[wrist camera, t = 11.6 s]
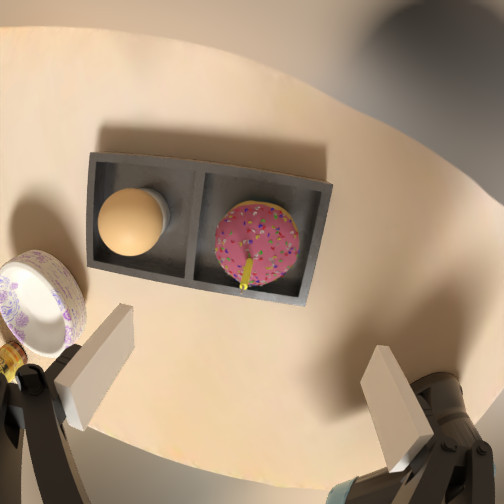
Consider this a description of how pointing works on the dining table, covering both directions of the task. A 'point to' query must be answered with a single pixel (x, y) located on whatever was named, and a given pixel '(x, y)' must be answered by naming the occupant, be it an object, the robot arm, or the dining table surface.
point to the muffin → (133, 220)
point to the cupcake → (256, 243)
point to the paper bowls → (41, 303)
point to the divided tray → (204, 220)
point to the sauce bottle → (11, 359)
